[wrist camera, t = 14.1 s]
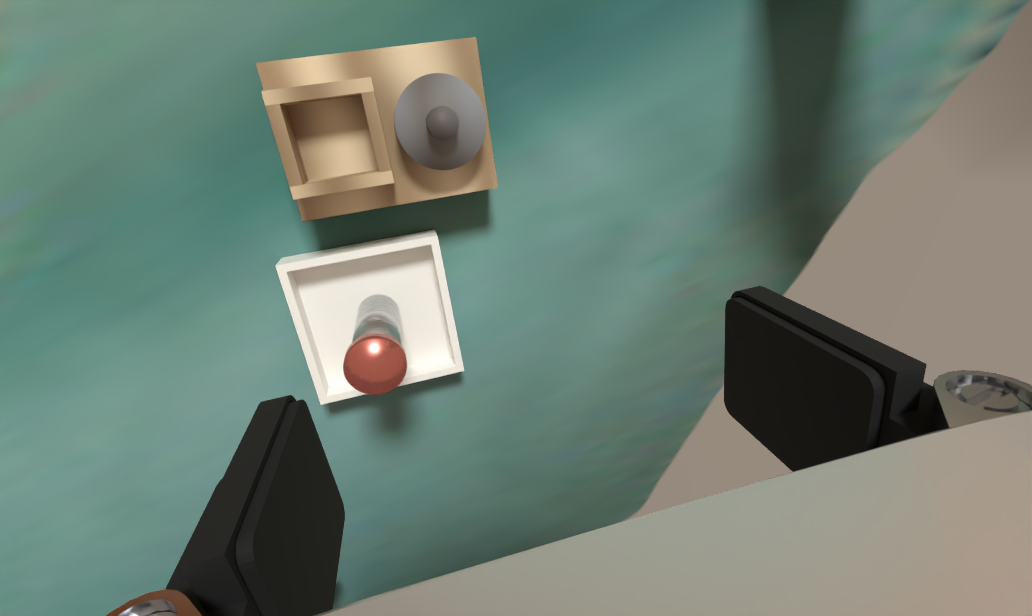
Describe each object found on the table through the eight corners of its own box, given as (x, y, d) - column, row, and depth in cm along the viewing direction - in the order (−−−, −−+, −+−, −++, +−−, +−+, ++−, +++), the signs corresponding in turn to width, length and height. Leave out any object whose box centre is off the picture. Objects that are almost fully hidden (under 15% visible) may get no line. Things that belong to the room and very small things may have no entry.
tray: (434, 229, 41) (437, 235, 39) (460, 358, 45) (464, 370, 43) (281, 257, 39) (275, 265, 37) (324, 390, 43) (320, 404, 41)
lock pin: (397, 286, 41) (399, 333, 32) (407, 330, 43) (412, 386, 34) (348, 296, 41) (336, 346, 31) (360, 340, 42) (351, 400, 33)
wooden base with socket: (466, 46, 37) (484, 28, 31) (487, 182, 41) (507, 192, 34) (269, 69, 35) (242, 56, 28) (310, 212, 38) (295, 230, 32)
